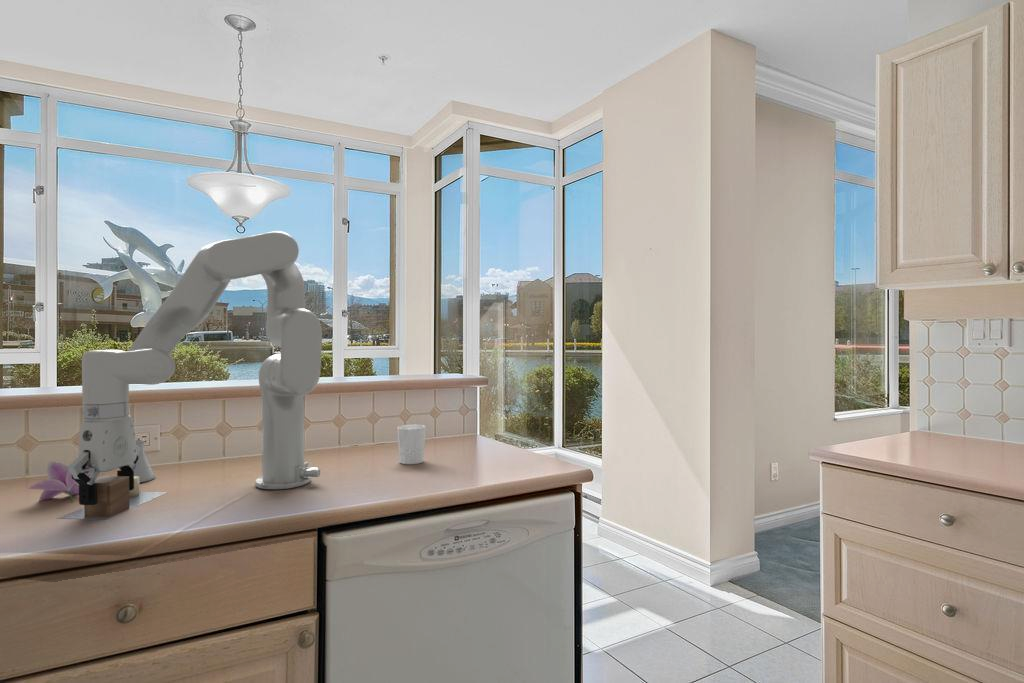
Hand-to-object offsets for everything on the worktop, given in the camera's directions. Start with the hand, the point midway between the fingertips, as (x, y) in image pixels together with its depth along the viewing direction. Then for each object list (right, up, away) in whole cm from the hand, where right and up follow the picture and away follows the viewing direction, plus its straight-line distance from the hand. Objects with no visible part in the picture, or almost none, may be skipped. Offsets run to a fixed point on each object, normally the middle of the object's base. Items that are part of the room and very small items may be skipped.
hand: (107, 496), depth 113 cm
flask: (-12, -4, +27) cm, 29 cm away
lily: (-15, -4, +9) cm, 18 cm away
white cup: (+52, -3, +47) cm, 71 cm away
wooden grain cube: (0, -3, 0) cm, 3 cm away
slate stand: (-2, -4, +5) cm, 7 cm away
